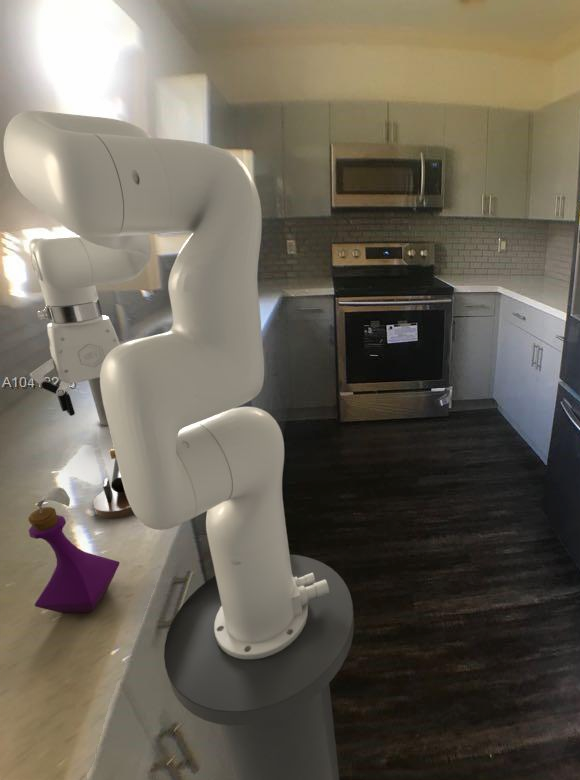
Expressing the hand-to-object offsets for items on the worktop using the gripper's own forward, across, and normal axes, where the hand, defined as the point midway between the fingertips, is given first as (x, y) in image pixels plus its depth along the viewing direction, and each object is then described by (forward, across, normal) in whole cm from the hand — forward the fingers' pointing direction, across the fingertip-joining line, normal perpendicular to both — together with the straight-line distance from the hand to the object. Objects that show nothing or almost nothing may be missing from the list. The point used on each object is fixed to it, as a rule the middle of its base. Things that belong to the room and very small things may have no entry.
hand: (101, 404), depth 84 cm
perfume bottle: (+18, -13, -26) cm, 34 cm away
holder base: (+18, -1, -5) cm, 19 cm away
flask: (+19, +13, +34) cm, 41 cm away
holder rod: (+16, +1, +3) cm, 17 cm away
